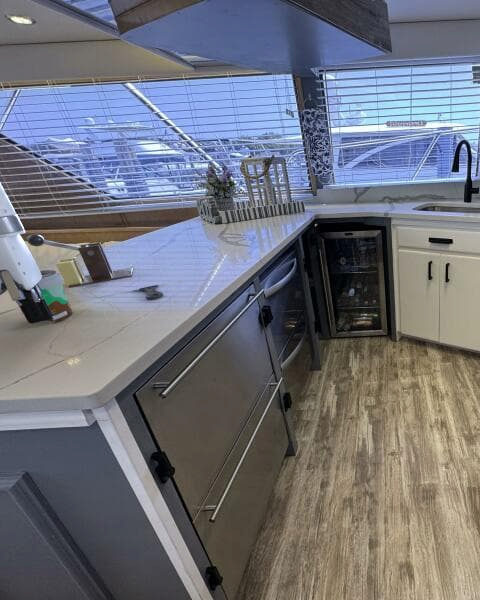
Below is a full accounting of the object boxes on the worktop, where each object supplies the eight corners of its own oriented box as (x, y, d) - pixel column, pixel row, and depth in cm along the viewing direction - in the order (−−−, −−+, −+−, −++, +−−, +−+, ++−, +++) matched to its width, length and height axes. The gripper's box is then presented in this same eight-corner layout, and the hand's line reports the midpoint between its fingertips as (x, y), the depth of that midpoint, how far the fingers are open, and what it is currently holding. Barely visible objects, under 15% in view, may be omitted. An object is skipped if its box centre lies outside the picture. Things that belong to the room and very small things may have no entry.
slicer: (70, 290, 89) (51, 252, 85) (76, 281, 96) (59, 246, 92) (133, 279, 96) (119, 243, 92) (134, 271, 104) (121, 238, 100)
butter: (66, 285, 89) (55, 264, 86) (71, 278, 95) (61, 258, 92) (80, 283, 91) (70, 262, 88) (84, 276, 97) (75, 256, 94)
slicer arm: (24, 245, 84) (26, 233, 83) (27, 243, 86) (29, 232, 86) (96, 258, 93) (99, 248, 92) (98, 256, 95) (100, 246, 95)
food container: (92, 312, 75) (73, 271, 71) (59, 324, 69) (36, 280, 65) (60, 306, 78) (40, 267, 74) (26, 317, 73) (3, 276, 69)
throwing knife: (145, 301, 79) (144, 298, 79) (134, 283, 93) (133, 281, 92) (166, 295, 82) (165, 293, 82) (152, 279, 95) (151, 277, 95)
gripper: (-24, 226, 60) (25, 313, 68) (-63, 238, 49) (1, 341, 57) (32, 220, 64) (73, 303, 72) (8, 230, 53) (59, 328, 60)
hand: (41, 320), depth 64 cm, fingers closed
